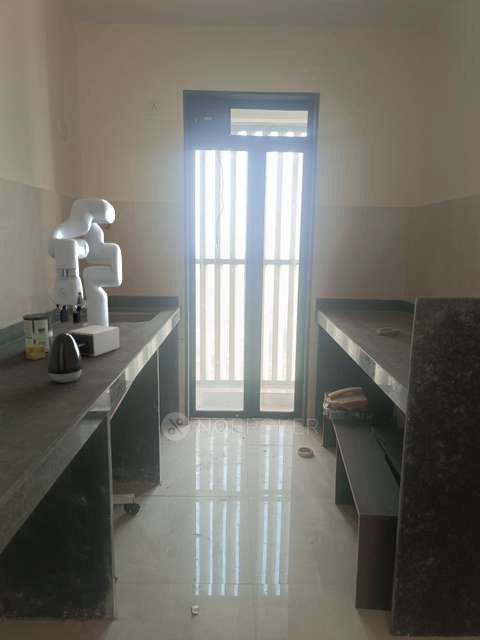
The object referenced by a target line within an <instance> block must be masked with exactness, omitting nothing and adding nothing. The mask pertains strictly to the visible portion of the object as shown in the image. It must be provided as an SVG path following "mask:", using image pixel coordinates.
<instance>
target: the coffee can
mask: <svg viewBox="0 0 480 640" xmlns="http://www.w3.org/2000/svg"><path fill="white" fill-rule="evenodd" d="M22 321H23V331H24V341H25V348H26V347H27V346H30V345H34V344H38V345H44V348H45V353H49V351H50V347H51V344H52V341H53V339H54V335H53V321H52V314H51V313H46V312H43V313H30V314H25V315H22Z"/></svg>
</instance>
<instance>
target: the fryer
mask: <svg viewBox="0 0 480 640" xmlns="http://www.w3.org/2000/svg"><path fill="white" fill-rule="evenodd" d="M73 332H75V333H76V334H79V335H87V336H92V345H93V352H92V354H91V355H88V354H81V353H80V355H81V356H82V355H83V356H89V357H96V356H100V355H102V354H106V353H109V352H111V351H114V350H118V349H120V347H121V346H120V327H118V326H101V325H92V326H88V327H80V328H75V329H72V330H71V329H70V330H68V331H67V333H68V334H72V333H73Z"/></svg>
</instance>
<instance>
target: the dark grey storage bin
mask: <svg viewBox="0 0 480 640" xmlns="http://www.w3.org/2000/svg"><path fill="white" fill-rule="evenodd" d="M70 335H71V334H70ZM73 339H74V340H75V342H76V344H77V346H78V349H79V352H80V353H81V354H80V355H82V354H88V355H87V356H89V355H91V354H92V352H93V345H92V336H87V335H79V334H76V335H75V336H74V337H73Z"/></svg>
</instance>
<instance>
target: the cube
mask: <svg viewBox="0 0 480 640" xmlns="http://www.w3.org/2000/svg"><path fill="white" fill-rule="evenodd" d="M25 356H26V359H28V360H33V361H36V360H39V359H43V358H45V357H46V352H45V348H44V345H38V344H34V345H30V346H27V347H26V346H25Z"/></svg>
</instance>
